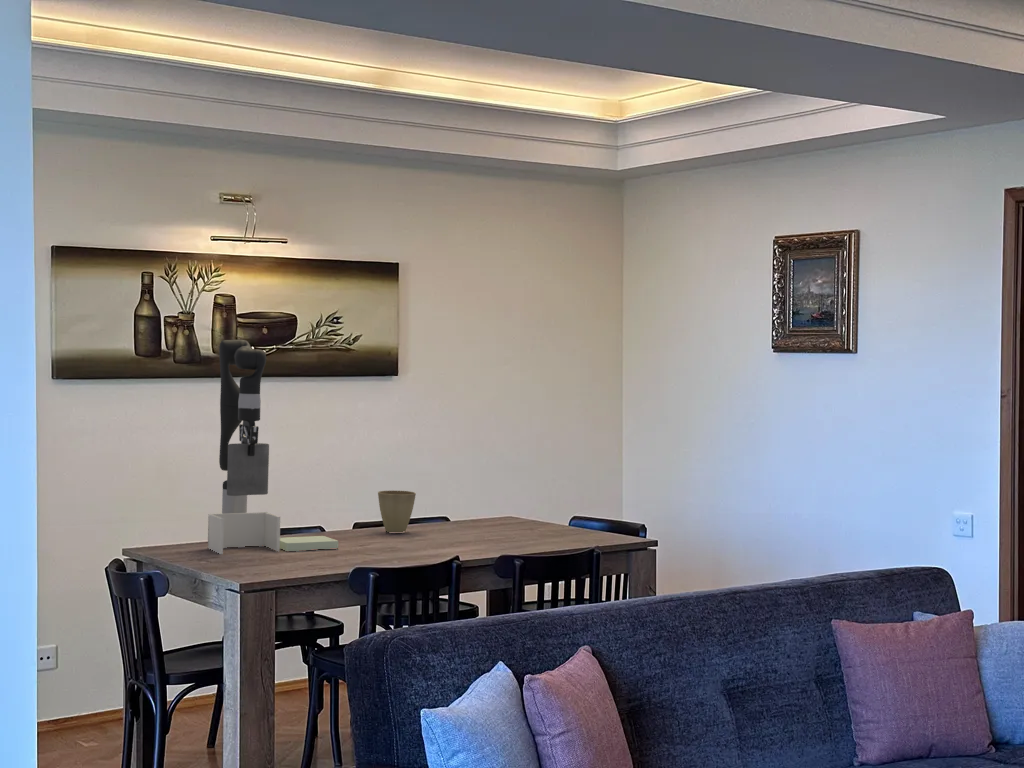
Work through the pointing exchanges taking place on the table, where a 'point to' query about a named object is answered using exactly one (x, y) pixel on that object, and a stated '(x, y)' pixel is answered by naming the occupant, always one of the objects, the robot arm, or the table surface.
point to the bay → (243, 530)
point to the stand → (307, 543)
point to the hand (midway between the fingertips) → (248, 455)
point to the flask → (247, 469)
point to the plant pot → (396, 509)
